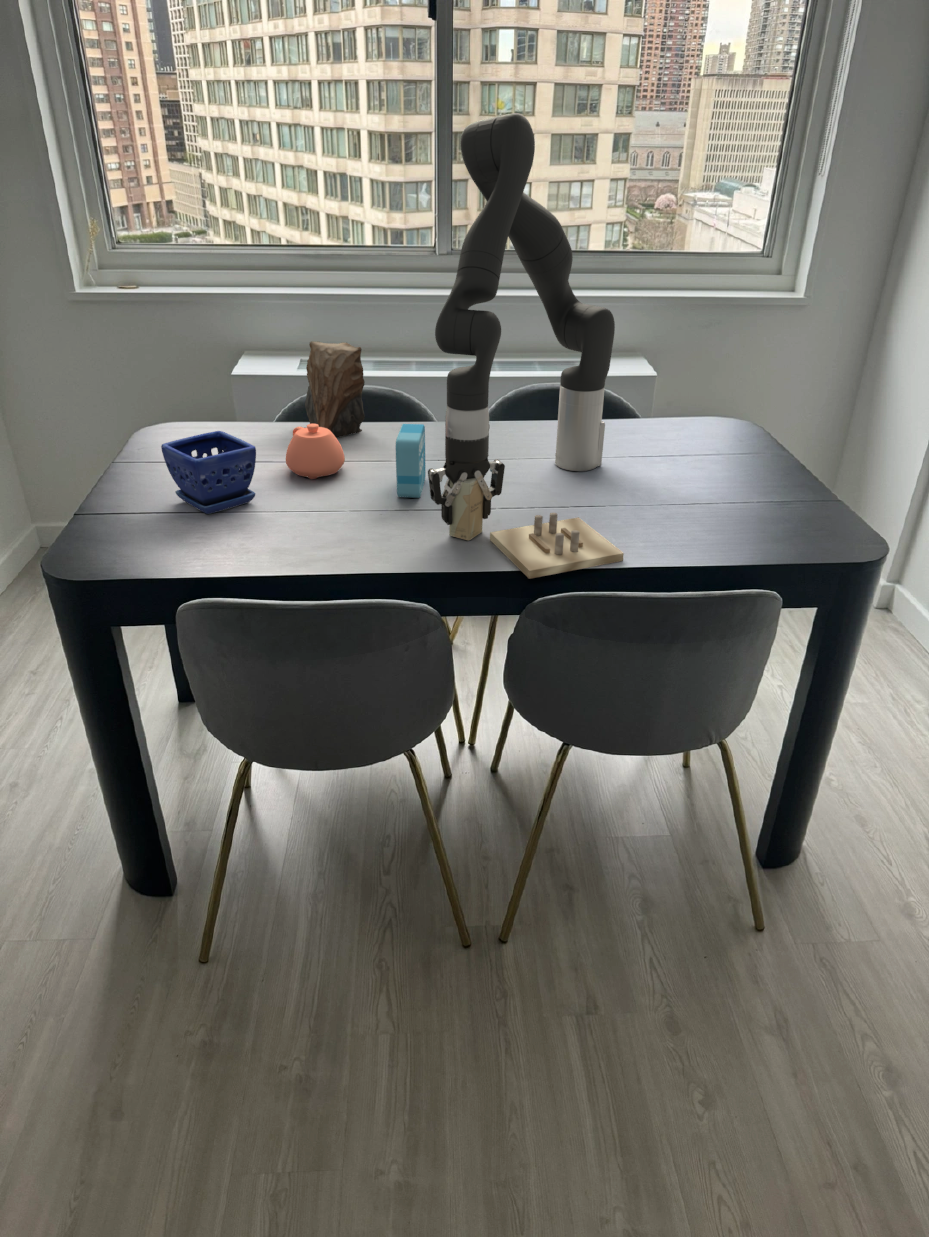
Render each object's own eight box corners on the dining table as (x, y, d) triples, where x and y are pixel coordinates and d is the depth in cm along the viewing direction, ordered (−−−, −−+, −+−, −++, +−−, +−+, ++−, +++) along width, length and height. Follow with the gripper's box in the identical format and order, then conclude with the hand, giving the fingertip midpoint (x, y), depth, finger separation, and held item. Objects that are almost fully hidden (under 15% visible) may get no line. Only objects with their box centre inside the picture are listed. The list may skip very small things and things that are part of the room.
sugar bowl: (307, 487, 179) (303, 438, 173) (271, 468, 188) (266, 421, 182) (356, 473, 186) (354, 426, 180) (320, 455, 195) (316, 410, 189)
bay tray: (577, 524, 164) (579, 499, 161) (622, 560, 151) (625, 534, 149) (489, 539, 158) (490, 514, 155) (529, 578, 145) (530, 551, 143)
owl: (305, 425, 212) (298, 340, 202) (355, 419, 217) (350, 336, 206) (319, 441, 202) (313, 353, 192) (371, 434, 207) (367, 348, 197)
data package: (419, 500, 173) (418, 442, 167) (396, 499, 173) (395, 441, 167) (425, 478, 184) (424, 422, 177) (404, 477, 184) (402, 421, 178)
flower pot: (227, 484, 179) (220, 428, 173) (264, 503, 171) (257, 444, 165) (168, 502, 171) (158, 443, 165) (203, 522, 163) (194, 461, 157)
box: (468, 541, 157) (469, 483, 152) (448, 536, 159) (448, 478, 154) (483, 531, 161) (484, 474, 155) (463, 526, 163) (464, 469, 157)
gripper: (496, 420, 156) (493, 507, 164) (420, 429, 151) (421, 518, 159) (514, 432, 150) (510, 522, 158) (435, 443, 145) (436, 534, 153)
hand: (466, 520), depth 159 cm, fingers closed on box, 6 cm apart
